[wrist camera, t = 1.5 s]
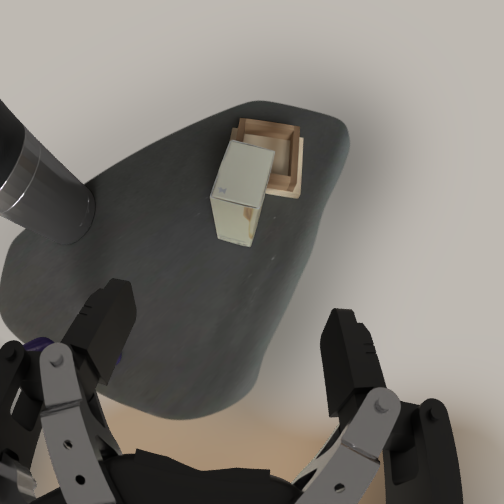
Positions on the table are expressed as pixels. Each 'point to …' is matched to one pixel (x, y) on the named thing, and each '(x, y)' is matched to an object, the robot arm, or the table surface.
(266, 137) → the wooden tray
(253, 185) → the skincare box
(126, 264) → the table surface
